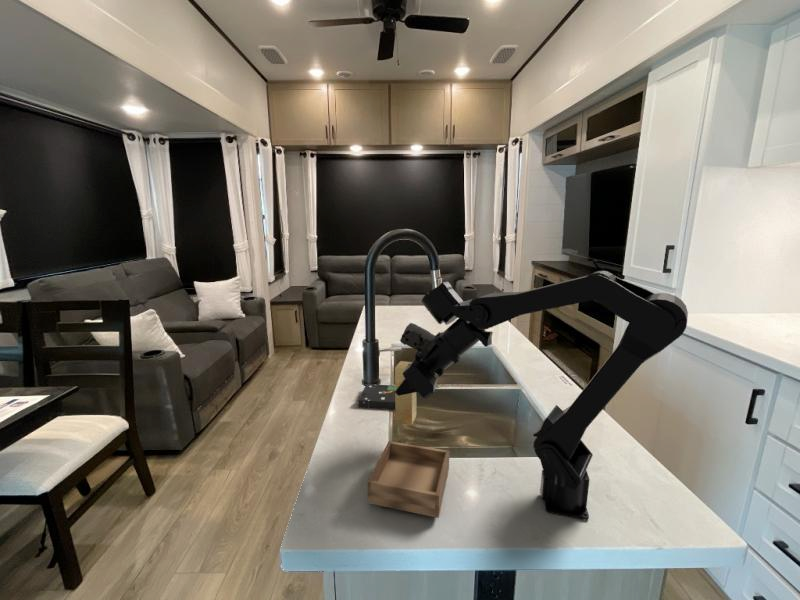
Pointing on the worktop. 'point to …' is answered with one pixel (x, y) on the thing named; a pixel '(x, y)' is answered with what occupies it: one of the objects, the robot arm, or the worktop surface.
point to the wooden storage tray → (409, 478)
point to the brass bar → (404, 398)
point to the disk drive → (377, 397)
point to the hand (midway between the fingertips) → (399, 389)
